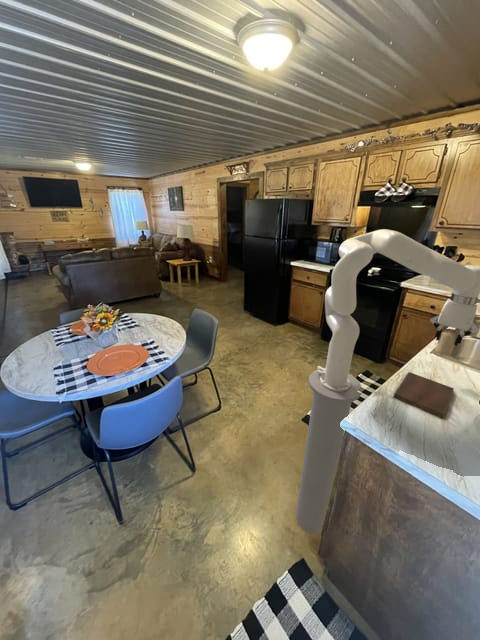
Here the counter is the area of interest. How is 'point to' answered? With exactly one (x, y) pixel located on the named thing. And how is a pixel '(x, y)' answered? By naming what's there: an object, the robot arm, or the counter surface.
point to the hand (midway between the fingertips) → (446, 341)
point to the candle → (446, 341)
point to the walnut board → (424, 394)
